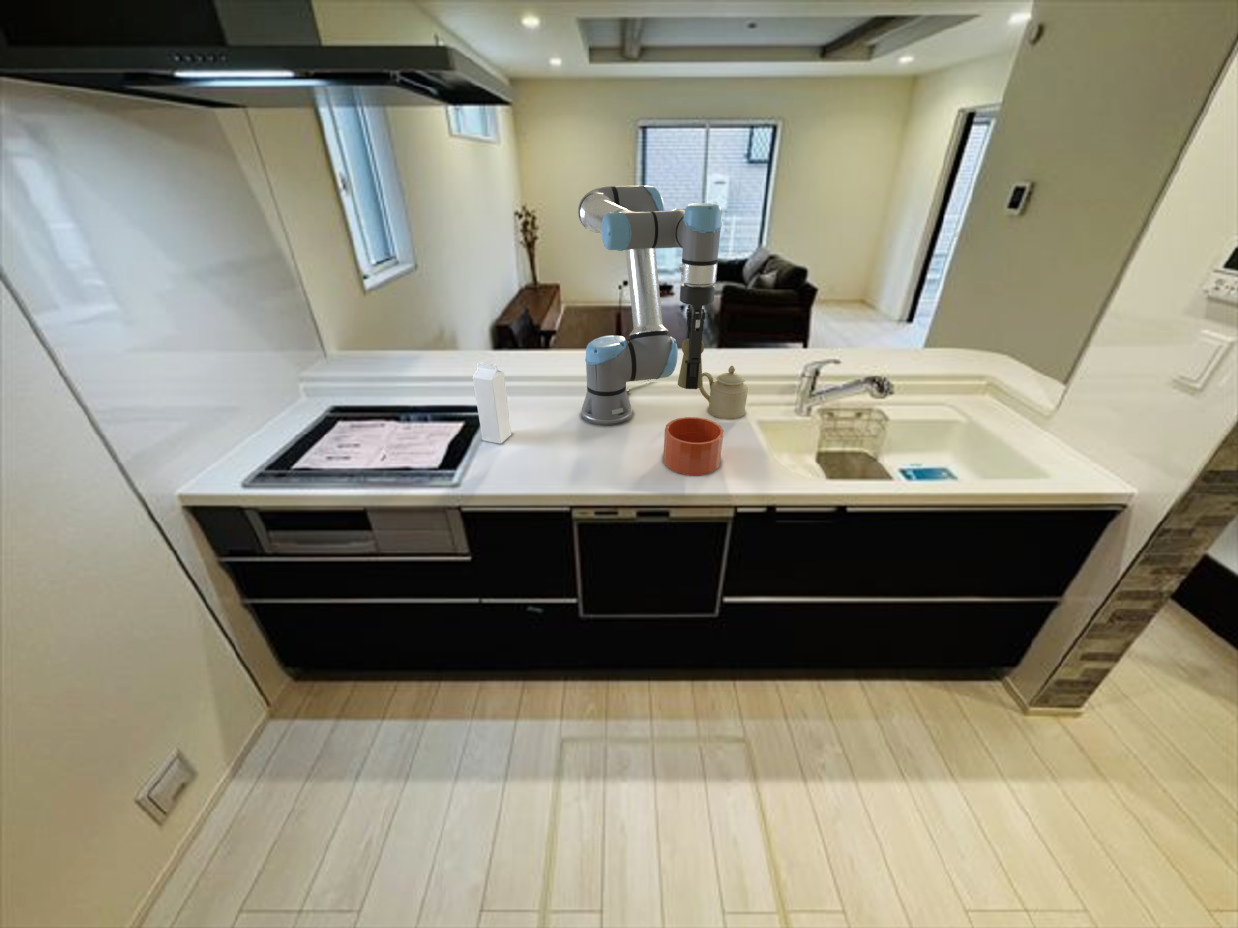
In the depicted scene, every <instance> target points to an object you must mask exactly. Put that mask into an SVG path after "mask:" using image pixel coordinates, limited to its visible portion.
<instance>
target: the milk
mask: <svg viewBox="0 0 1238 928" xmlns="http://www.w3.org/2000/svg"><path fill="white" fill-rule="evenodd" d="M476 366H477V368H476V370H475V372H474V373H473V375H472V381H473V382H472V383H473V389H474V396H475V402H476V407H477V415H478V420H479V421H478V422H479V427H480V432H481V440H482V441H484V442H490V443H495V444H500V445H501V444H502V443H504V442H505V441H506V440H507V439H508V438H509V437H510V436H511V435H512V426H511V417H510V409H509V402H508V396H507V395H508V394H507V393H508V392H507V386H506V379H505V378H506V377H505V372H504V371H502V370H499V369H498V365H497V364H496V363H489V362H483V361H477V362H476Z"/></svg>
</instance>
